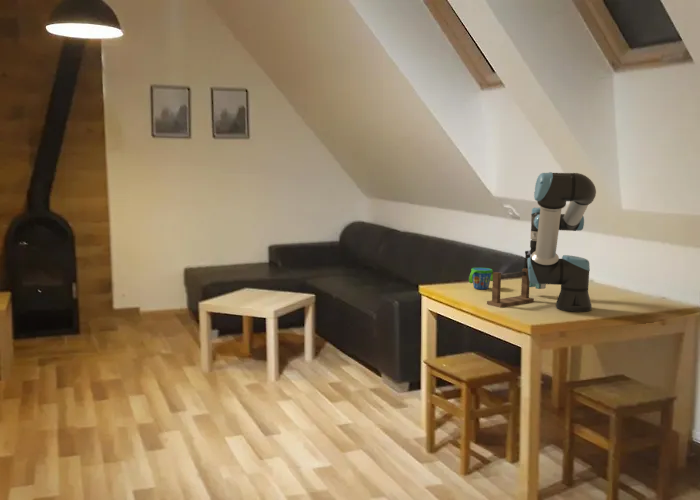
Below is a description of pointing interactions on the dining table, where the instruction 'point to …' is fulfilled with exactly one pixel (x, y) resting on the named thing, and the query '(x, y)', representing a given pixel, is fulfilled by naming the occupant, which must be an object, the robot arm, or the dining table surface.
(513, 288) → the dining table surface
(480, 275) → the snack cup
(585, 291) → the robot arm
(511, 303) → the stand
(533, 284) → the link
